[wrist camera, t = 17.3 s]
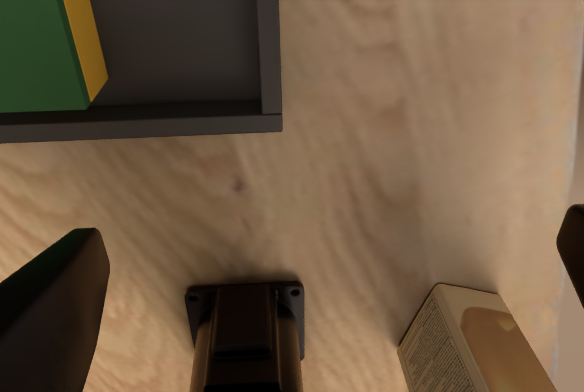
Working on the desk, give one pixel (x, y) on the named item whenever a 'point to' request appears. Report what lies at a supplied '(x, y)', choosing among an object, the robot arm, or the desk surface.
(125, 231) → the desk surface
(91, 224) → the desk surface
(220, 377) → the robot arm
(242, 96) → the tray
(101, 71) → the sponge
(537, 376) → the cosmetic box
